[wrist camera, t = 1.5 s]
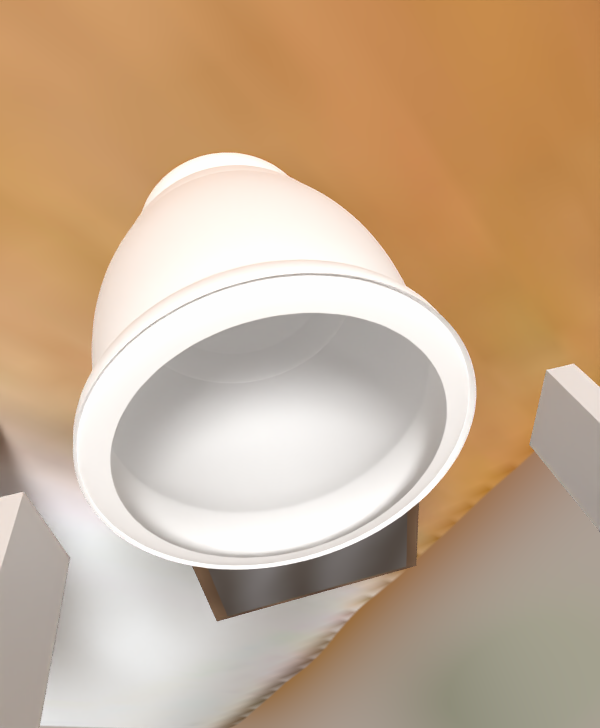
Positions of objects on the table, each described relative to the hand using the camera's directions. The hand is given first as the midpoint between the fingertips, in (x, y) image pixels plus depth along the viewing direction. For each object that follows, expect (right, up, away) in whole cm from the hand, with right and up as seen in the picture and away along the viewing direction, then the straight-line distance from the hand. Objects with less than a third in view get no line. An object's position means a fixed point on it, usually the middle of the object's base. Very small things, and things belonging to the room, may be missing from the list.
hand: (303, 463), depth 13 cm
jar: (-4, +9, +12) cm, 16 cm away
